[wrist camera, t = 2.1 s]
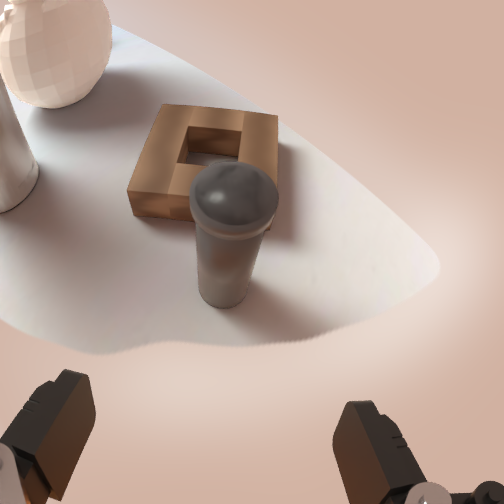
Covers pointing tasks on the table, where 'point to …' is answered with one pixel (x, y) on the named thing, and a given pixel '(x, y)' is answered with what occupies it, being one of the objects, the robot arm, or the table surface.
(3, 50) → the white handled vase
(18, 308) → the table surface
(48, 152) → the table surface
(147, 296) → the table surface
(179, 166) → the socket block
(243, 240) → the plug
